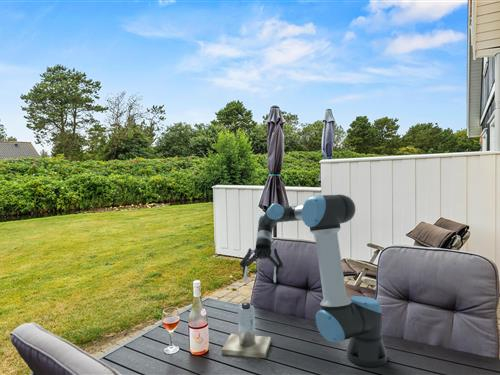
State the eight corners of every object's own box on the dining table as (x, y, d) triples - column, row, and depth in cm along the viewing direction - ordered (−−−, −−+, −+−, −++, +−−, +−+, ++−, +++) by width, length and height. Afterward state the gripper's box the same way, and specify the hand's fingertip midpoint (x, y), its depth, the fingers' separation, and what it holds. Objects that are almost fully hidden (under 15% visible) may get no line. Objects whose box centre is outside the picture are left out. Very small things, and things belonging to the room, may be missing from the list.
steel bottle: (257, 339, 147) (255, 301, 146) (253, 347, 140) (252, 307, 140) (241, 338, 148) (239, 300, 148) (237, 346, 142) (235, 306, 141)
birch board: (270, 341, 149) (270, 337, 149) (265, 358, 135) (265, 353, 135) (231, 338, 153) (231, 333, 153) (221, 354, 139) (221, 349, 139)
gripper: (289, 246, 169) (287, 285, 155) (240, 245, 174) (234, 283, 160) (288, 237, 164) (286, 276, 150) (237, 237, 169) (231, 275, 155)
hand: (259, 280), depth 155 cm, fingers open, 13 cm apart
